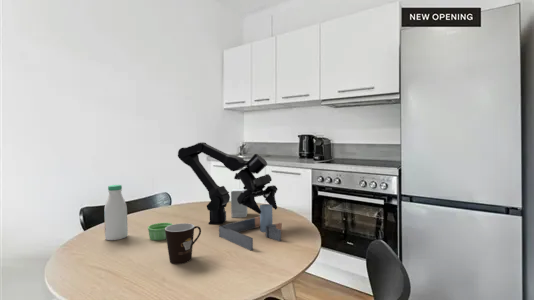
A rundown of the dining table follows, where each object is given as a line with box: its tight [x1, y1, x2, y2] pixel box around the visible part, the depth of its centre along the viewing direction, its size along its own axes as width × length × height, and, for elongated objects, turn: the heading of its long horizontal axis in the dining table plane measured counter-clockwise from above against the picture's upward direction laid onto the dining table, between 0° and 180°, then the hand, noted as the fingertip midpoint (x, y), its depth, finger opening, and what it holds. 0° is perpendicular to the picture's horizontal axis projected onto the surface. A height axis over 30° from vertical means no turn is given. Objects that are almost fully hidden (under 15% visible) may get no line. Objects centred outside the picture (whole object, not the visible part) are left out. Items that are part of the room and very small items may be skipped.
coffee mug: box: [165, 222, 202, 265], centre depth 89 cm, size 12×9×10 cm
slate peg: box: [259, 203, 274, 233], centre depth 116 cm, size 5×5×10 cm
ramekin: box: [147, 222, 174, 241], centre depth 110 cm, size 9×9×4 cm
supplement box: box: [230, 188, 249, 218], centre depth 140 cm, size 7×7×13 cm
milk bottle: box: [103, 184, 129, 241], centre depth 111 cm, size 8×8×20 cm
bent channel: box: [218, 215, 283, 251], centre depth 109 cm, size 20×20×4 cm
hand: (268, 211), depth 115 cm, fingers open, 9 cm apart
